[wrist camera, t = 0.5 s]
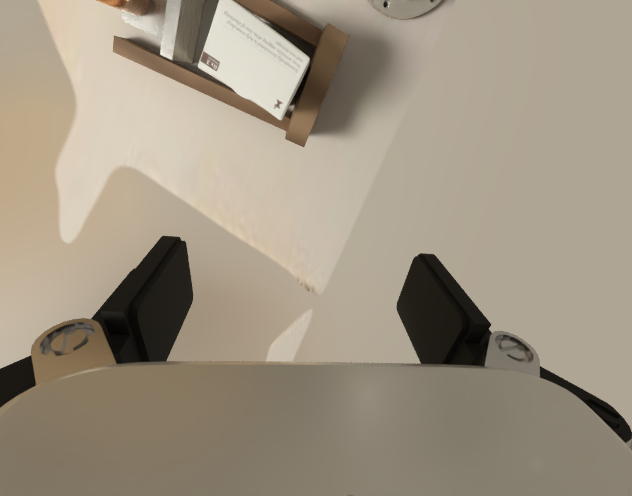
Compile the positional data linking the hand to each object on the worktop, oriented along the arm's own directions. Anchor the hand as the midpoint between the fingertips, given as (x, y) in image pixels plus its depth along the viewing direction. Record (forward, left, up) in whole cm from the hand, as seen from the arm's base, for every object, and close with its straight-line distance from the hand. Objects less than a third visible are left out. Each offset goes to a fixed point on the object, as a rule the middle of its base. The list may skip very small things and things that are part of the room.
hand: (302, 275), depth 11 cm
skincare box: (-6, -6, -34) cm, 35 cm away
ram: (-6, -19, -33) cm, 39 cm away
